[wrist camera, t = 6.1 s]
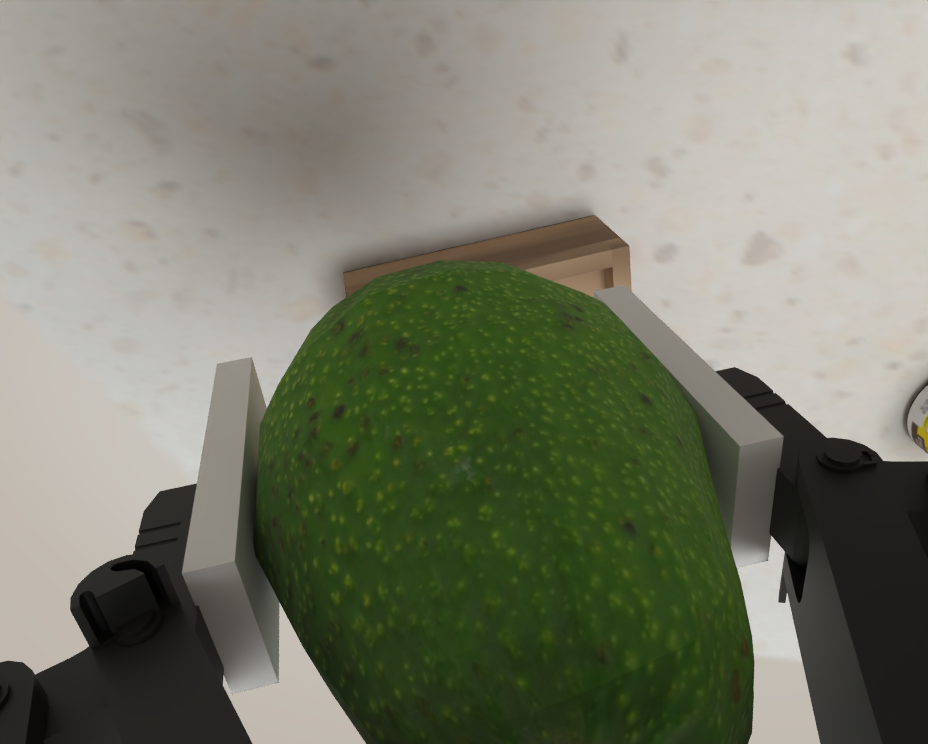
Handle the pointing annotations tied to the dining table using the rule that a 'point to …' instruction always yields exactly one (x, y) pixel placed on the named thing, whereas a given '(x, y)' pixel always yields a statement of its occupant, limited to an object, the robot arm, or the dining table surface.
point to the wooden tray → (535, 256)
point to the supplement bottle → (919, 420)
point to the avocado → (500, 521)
